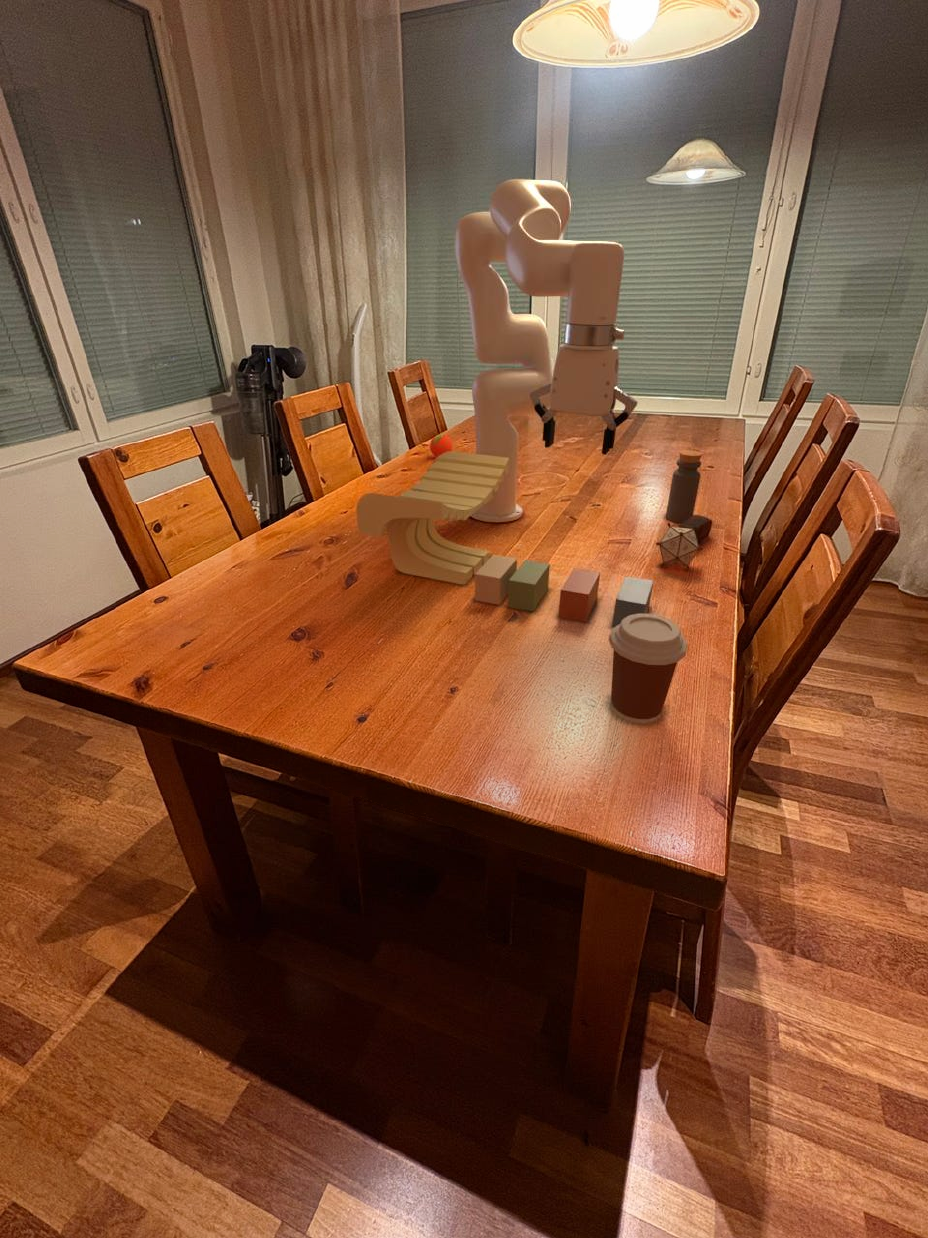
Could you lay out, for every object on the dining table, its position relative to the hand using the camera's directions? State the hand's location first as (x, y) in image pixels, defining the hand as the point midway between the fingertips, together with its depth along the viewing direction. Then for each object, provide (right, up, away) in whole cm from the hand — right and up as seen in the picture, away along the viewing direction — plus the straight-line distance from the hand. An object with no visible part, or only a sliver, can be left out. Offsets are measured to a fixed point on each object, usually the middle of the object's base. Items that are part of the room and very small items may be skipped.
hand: (576, 448), depth 101 cm
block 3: (+8, -28, -2) cm, 29 cm away
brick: (+29, -12, +26) cm, 41 cm away
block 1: (-13, -24, +5) cm, 28 cm away
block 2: (-8, -25, +3) cm, 26 cm away
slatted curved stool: (-23, -18, +16) cm, 34 cm away
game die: (+22, -18, +15) cm, 32 cm away
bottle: (+31, -5, +39) cm, 50 cm away
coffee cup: (+3, -40, -23) cm, 46 cm away
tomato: (-26, +21, +85) cm, 91 cm away
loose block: (0, -27, 0) cm, 26 cm away
